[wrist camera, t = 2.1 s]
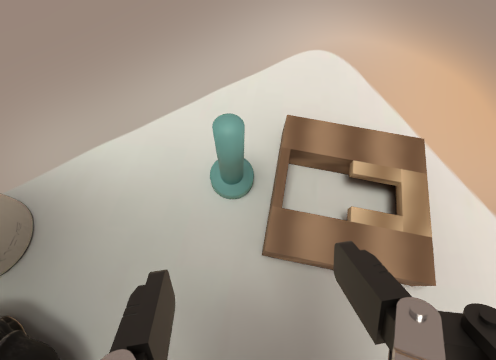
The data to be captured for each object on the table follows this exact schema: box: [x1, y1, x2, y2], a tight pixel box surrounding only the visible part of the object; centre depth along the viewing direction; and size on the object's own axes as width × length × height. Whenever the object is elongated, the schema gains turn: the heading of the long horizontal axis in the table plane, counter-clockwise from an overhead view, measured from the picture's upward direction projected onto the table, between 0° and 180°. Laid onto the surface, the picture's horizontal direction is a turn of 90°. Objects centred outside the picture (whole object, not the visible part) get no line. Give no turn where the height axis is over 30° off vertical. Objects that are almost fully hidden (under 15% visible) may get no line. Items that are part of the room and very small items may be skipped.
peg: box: [210, 114, 254, 199], centre depth 26 cm, size 5×5×11 cm
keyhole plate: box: [262, 115, 436, 286], centre depth 29 cm, size 16×16×4 cm
